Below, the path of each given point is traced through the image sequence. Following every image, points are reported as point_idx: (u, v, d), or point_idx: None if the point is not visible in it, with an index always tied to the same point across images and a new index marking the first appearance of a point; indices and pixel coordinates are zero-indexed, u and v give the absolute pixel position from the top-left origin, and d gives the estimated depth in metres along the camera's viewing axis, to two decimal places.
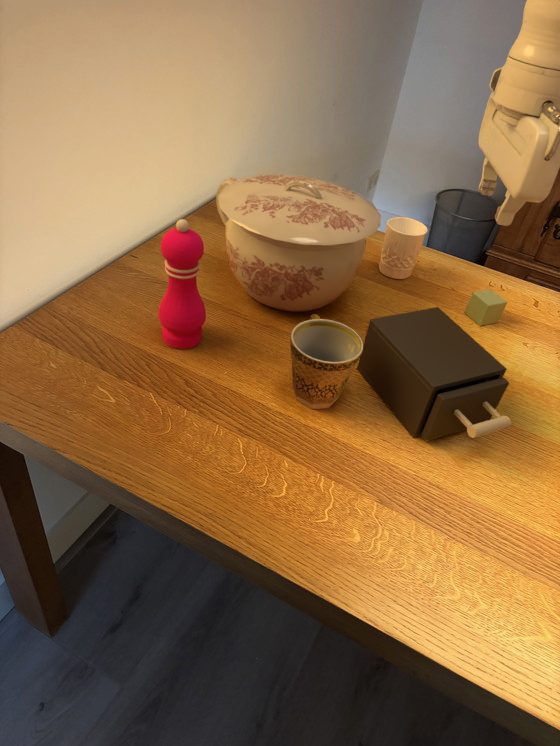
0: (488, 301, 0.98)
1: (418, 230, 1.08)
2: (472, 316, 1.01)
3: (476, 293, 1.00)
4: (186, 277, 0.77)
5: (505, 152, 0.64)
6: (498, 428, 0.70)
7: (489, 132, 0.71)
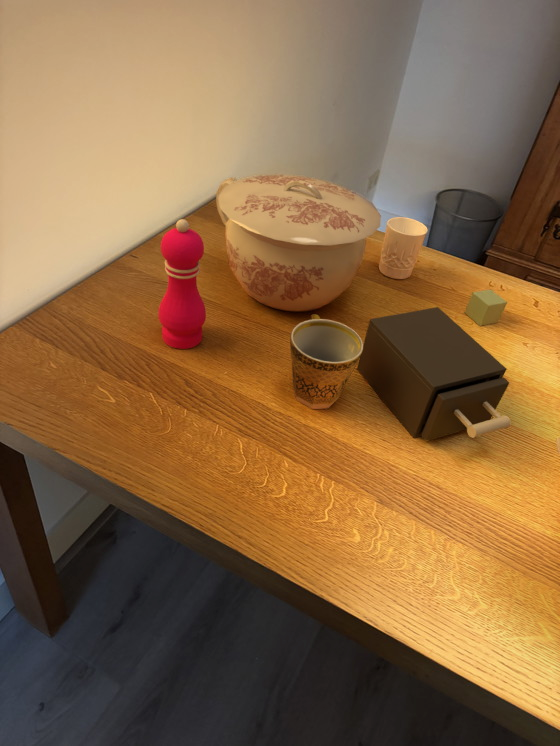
0: (488, 301, 0.98)
1: (418, 230, 1.08)
2: (472, 316, 1.01)
3: (476, 293, 1.00)
4: (186, 277, 0.77)
5: None
6: (498, 428, 0.70)
7: None
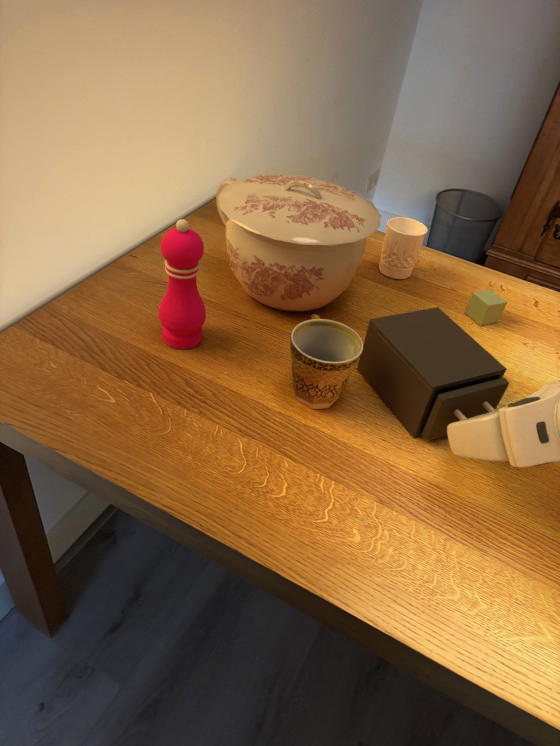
0: (488, 301, 0.98)
1: (418, 230, 1.08)
2: (472, 316, 1.01)
3: (476, 293, 1.00)
4: (186, 277, 0.77)
5: None
6: None
7: None
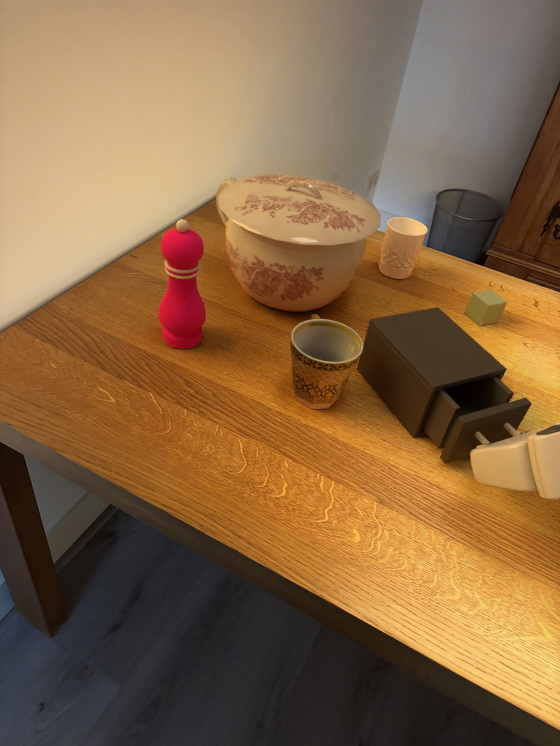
0: (488, 301, 0.98)
1: (418, 230, 1.08)
2: (472, 316, 1.01)
3: (476, 293, 1.00)
4: (186, 277, 0.77)
5: None
6: None
7: None
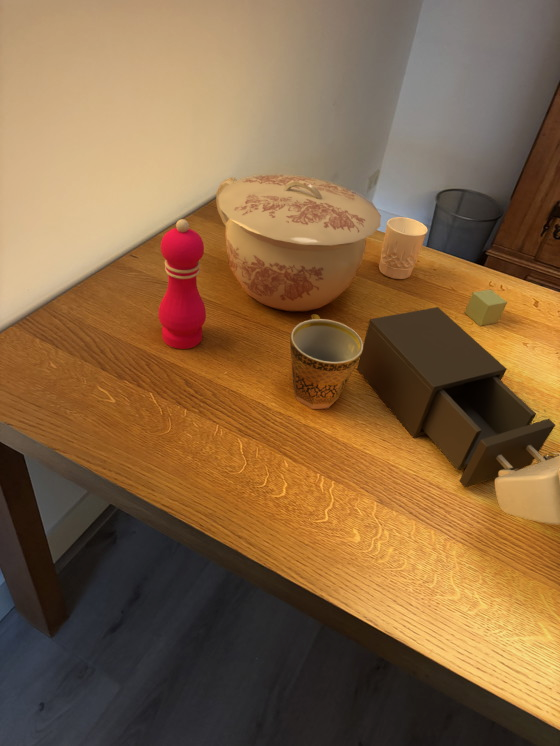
0: (488, 301, 0.98)
1: (418, 230, 1.08)
2: (472, 316, 1.01)
3: (476, 293, 1.00)
4: (186, 277, 0.77)
5: None
6: None
7: None
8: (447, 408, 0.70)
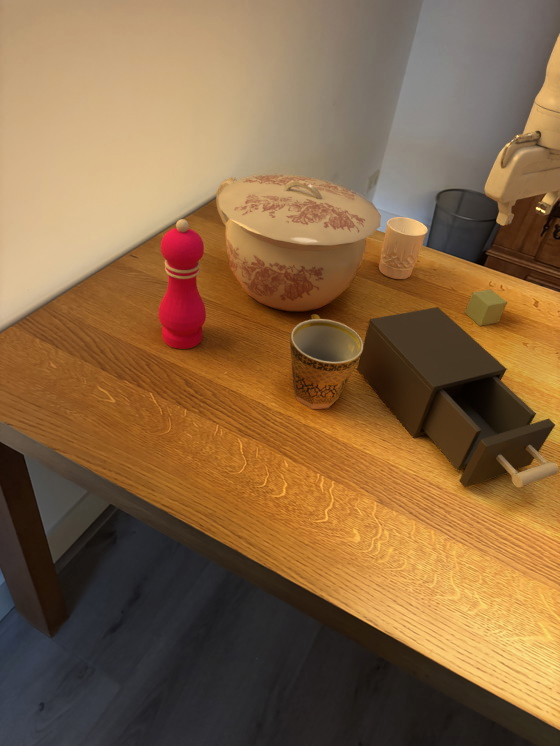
0: (488, 301, 0.98)
1: (418, 230, 1.08)
2: (472, 316, 1.01)
3: (476, 293, 1.00)
4: (186, 277, 0.77)
5: None
6: (545, 476, 0.65)
7: None
8: (447, 408, 0.70)
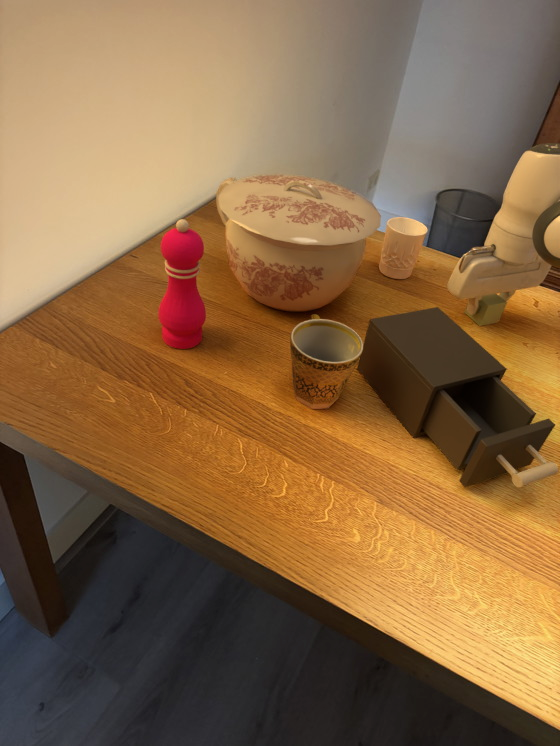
0: (488, 301, 0.98)
1: (418, 230, 1.08)
2: (472, 316, 1.01)
3: None
4: (186, 277, 0.77)
5: None
6: (545, 476, 0.65)
7: None
8: (447, 408, 0.70)
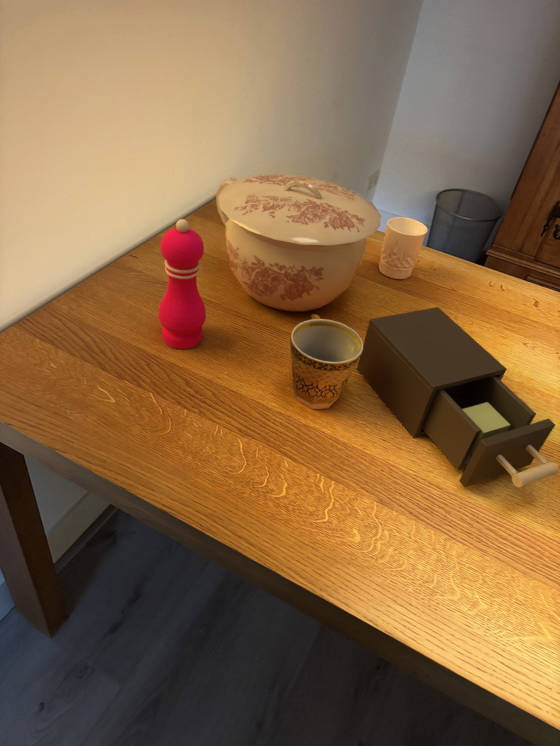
0: (483, 424, 0.70)
1: (418, 230, 1.08)
2: None
3: (467, 410, 0.71)
4: (186, 277, 0.77)
5: None
6: (545, 476, 0.65)
7: None
8: (447, 408, 0.70)
